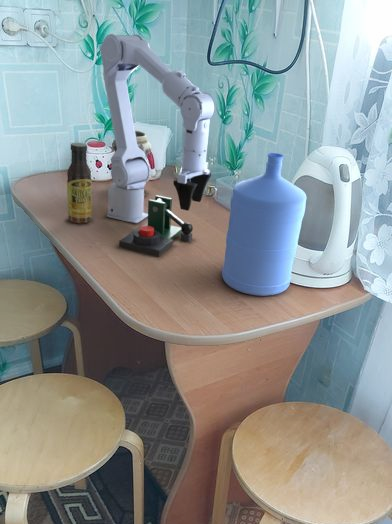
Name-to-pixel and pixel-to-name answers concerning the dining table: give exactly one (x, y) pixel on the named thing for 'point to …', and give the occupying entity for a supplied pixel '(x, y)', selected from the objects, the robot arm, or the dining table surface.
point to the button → (146, 231)
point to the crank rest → (186, 237)
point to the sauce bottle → (79, 185)
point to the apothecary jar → (141, 143)
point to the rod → (178, 220)
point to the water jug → (263, 232)
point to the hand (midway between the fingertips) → (190, 205)
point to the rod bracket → (161, 218)
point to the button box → (146, 243)
